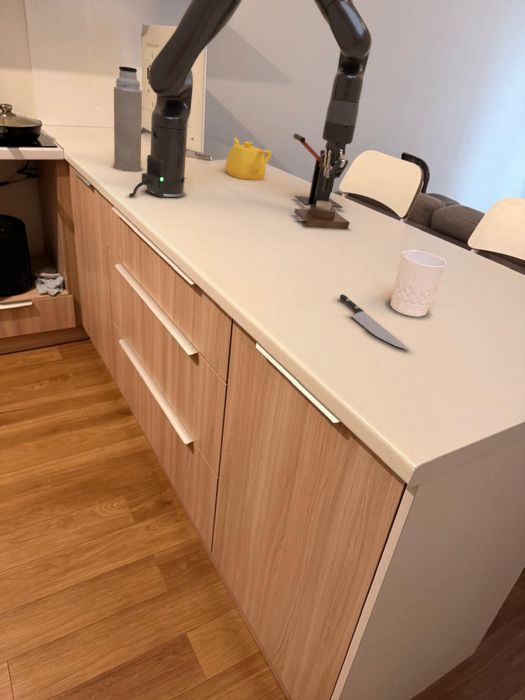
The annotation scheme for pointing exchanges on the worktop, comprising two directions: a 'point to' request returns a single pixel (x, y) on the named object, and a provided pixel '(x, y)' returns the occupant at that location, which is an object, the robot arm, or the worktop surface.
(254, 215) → the worktop surface
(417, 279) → the white cup
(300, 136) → the lever
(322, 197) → the bracket
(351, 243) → the worktop surface
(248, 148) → the teapot
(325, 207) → the button
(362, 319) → the chef's knife
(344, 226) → the button block
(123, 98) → the thermos bottle
